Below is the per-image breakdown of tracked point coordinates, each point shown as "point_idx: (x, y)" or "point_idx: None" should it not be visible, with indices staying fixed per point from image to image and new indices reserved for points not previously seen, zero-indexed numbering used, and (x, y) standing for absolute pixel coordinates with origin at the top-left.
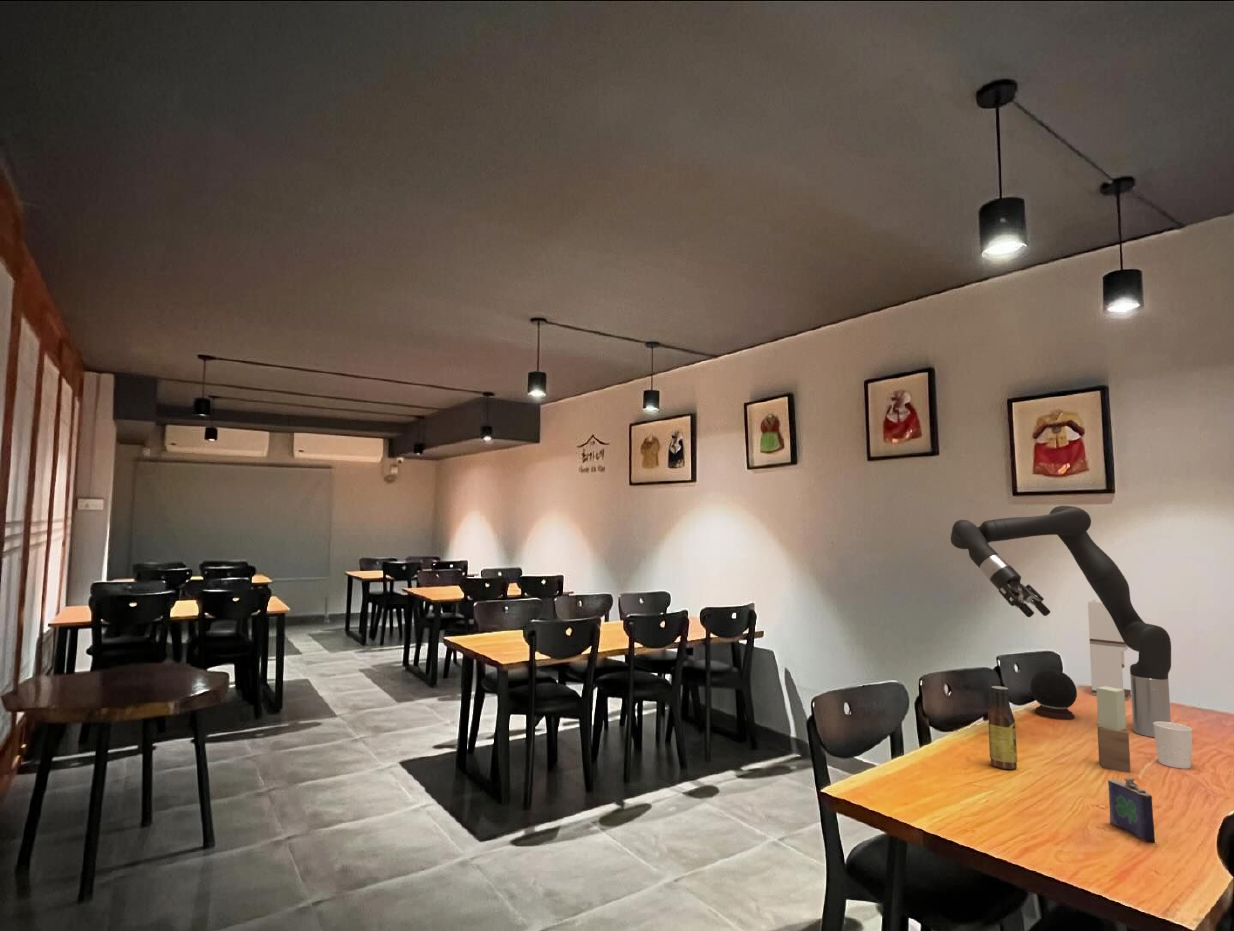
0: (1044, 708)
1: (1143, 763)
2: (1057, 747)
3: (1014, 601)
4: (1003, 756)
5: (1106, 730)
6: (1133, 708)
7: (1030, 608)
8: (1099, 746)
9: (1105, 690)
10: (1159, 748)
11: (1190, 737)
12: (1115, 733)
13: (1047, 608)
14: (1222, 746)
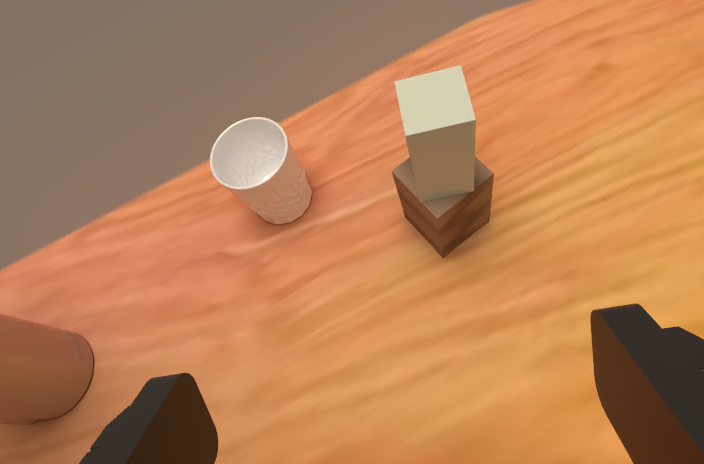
0: None
1: (344, 220)
2: (441, 381)
3: None
4: None
5: (482, 163)
6: (23, 396)
7: (637, 354)
8: (465, 221)
9: (468, 95)
10: (299, 191)
11: (254, 130)
12: None
13: (136, 409)
14: (36, 254)
